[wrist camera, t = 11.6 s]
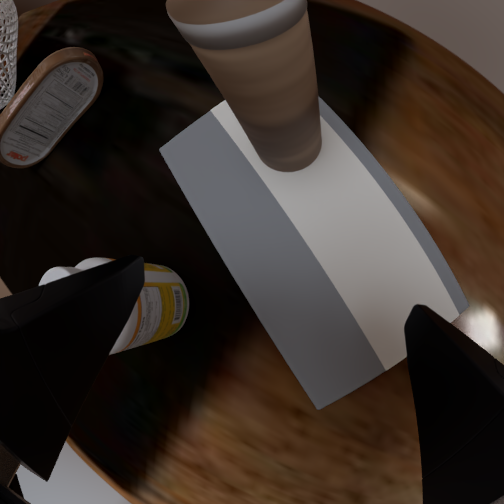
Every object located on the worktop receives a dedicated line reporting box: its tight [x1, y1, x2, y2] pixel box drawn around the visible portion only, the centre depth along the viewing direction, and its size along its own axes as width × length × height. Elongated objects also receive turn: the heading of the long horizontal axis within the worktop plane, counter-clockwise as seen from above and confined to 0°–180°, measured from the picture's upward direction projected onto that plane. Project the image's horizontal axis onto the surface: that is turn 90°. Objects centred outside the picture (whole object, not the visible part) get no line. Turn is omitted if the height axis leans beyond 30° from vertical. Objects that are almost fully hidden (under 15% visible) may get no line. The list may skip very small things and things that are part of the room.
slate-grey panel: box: [159, 96, 469, 410], centre depth 18 cm, size 22×12×1 cm, turn 33°
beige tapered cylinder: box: [166, 0, 322, 172], centre depth 13 cm, size 5×5×13 cm
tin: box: [0, 47, 103, 168], centre depth 22 cm, size 15×3×8 cm, turn 128°
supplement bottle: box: [39, 258, 189, 355], centre depth 16 cm, size 5×5×10 cm
